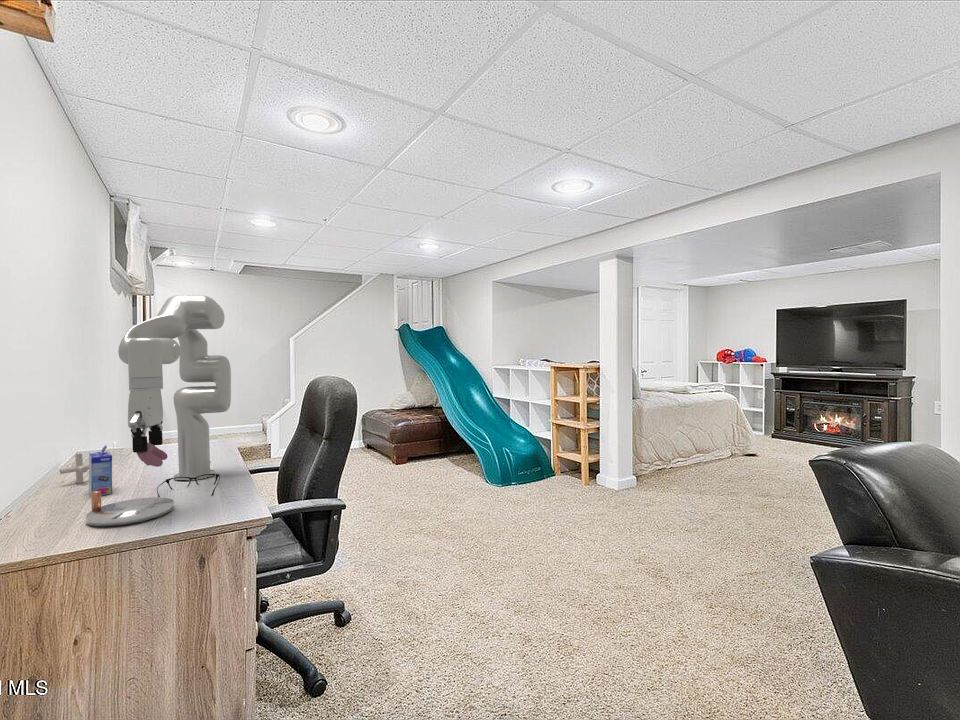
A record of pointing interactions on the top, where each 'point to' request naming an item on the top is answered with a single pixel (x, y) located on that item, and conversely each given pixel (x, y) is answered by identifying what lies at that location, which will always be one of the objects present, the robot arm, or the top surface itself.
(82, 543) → the top surface
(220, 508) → the top surface
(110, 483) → the ink cartridge box
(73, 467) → the pipe connector
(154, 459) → the video game controller
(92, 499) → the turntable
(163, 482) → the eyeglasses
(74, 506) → the top surface
